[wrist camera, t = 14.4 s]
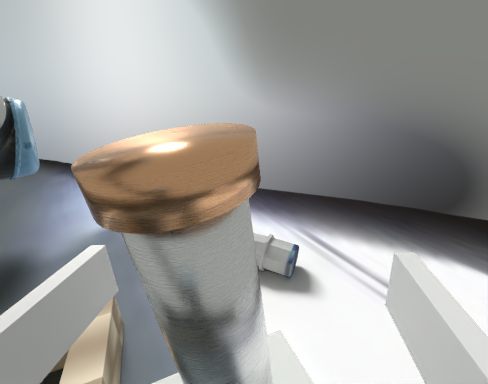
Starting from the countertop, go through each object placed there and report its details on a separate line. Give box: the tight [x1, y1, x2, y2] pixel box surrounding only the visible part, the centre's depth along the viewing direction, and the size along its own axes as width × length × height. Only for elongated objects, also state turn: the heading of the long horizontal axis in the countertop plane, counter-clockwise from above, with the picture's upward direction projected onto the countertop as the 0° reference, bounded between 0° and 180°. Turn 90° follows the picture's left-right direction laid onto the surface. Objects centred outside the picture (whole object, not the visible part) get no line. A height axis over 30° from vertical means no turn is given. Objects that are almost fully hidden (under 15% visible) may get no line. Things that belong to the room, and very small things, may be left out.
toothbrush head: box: [253, 233, 299, 277], centre depth 34 cm, size 5×7×25 cm
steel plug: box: [71, 123, 273, 384], centre depth 12 cm, size 5×5×18 cm
